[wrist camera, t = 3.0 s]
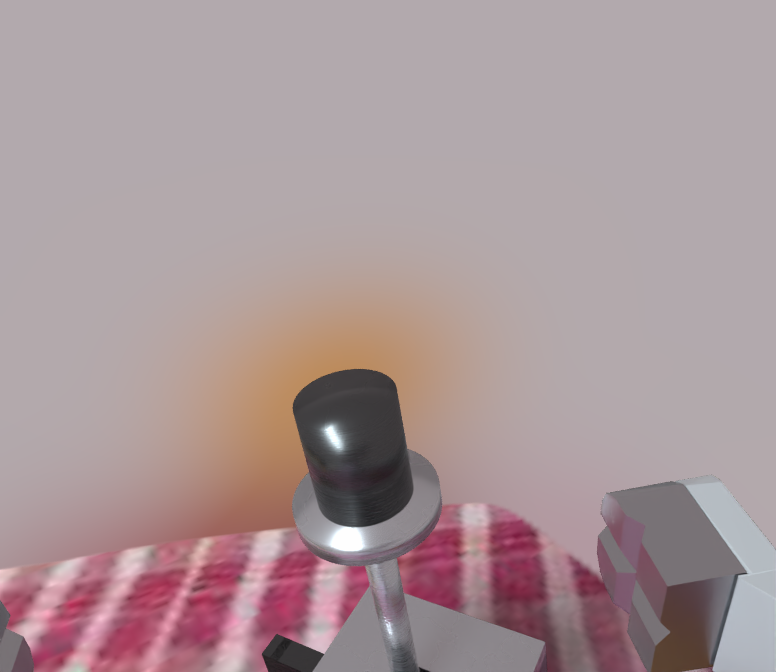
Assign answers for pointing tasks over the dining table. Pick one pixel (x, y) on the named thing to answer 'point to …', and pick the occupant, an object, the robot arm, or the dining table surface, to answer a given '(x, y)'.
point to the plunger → (364, 491)
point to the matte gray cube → (431, 640)
